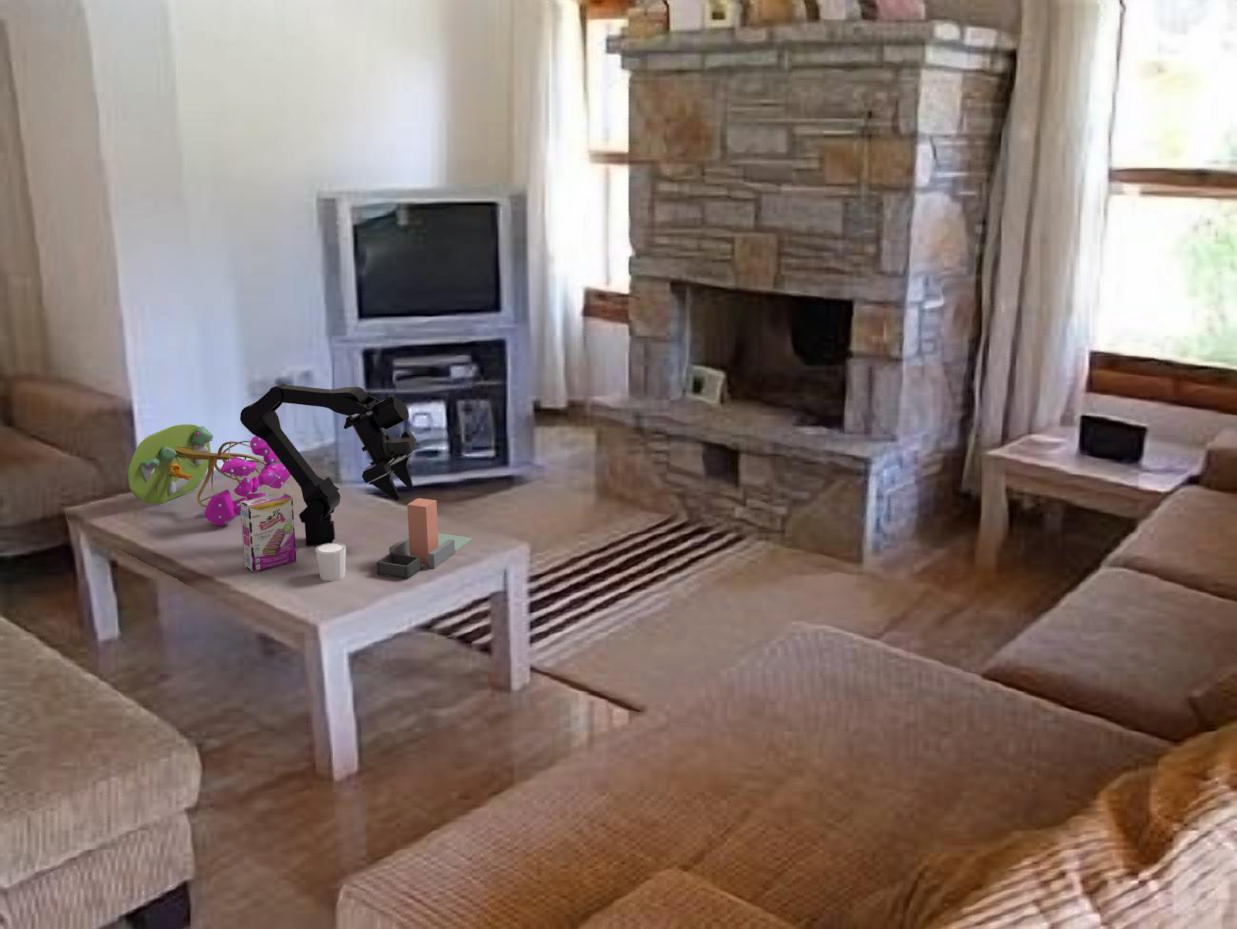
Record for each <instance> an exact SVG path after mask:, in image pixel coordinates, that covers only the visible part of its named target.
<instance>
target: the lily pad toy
mask: <svg viewBox="0 0 1237 929" xmlns="http://www.w3.org/2000/svg"><path fill="white" fill-rule="evenodd" d="M213 438H214V434H213V433H212V432H210V431H209V429H207V428H206V427H205V426H204V425H202V426H198V425H196V424H191V423H190V424H187V423H186V424H184V423H183V424H176V425H172V426H169V427H167V428H164V429H161V430H159V431H156V432H154V433H152V434H149V435H148V436H146V437H145V438H144V439H142V440H141V442H140V443H139V444H138V446H137V448H136V449H135V451H134V453H133V456H132V458H131V460H130V462H129V466H128V469H127V480H128V487H129V490H130V492H131V493H132V494H133V495H134V496H135V497H136V498H137V499H138V500H140V501H142V502H145V503H148V504H150V505H154V504H155V505H161V504H164V503H166V502H169V501H171V500H174V499H176V497H177V498H179V497H178V496H180V497H182V496H184V495H183V494H185V493H187V492H190V491H192V492H193V491H195V490H196V489H197V488H198V486H199V485H200V484H201V482H203V483H202V485H201V487H200V489H199V491H198V493H197V497H196V500H197V503H198V504H199V505H200V506H202V507H204V508H205V510H204V511H202V514H201V515H202V516H203V517H204V518H205V519H206V521H207V522H209V523H210V522H211V523H212V524H214V525H215V526H217V527H223V526H224V525H225V524H228V523H229V522H231V521H232V520H234V519H235V518H237V517H238V515H240V516H241V511H240V502H241V501H246V500H251V499H255V498H260V497H264V496H269V494H266V493H265V492H259V491H260V490H261V488H262V486H264V485H265V486H269V487H270V488H272V489H277V490H280V489H281V488H282V487H283V486H284V485H285V483H287V481H288V480H289V479H291V477H292V476H291V474H290V473H289V472H288V470H287V469H286V468H285V466H284V465H283V464H282V463H279V464H276V463H277V462H278V461H280V460H279V459H278V457H277V456H276V455H275V454H274V452H273V451H272V450H271V448H270V447H269V446H268V445H267V443H266V442H265V441H264V440H262V439H261V438H259V437H257V436H255V435H253V437H252V438H251V439H250V440H242V441H226V442H223V443H222V444H221V445H220V447H219V448H218V451H217V452H212V451H211V446H210V445H211V444H210V442H212V441H213ZM245 443H249V444H245ZM227 445H229V446H228V447H227V448H226V449H224V447H225V446H227ZM237 445H242V446H246V447H248V448H250V449H251V452H252V454H253V455H255V456H253V455H249V454H243V453H235V452H231V448H233V447H235V446H237ZM223 449H224V450H223ZM227 451H228V452H227ZM256 456H259V457H263V461H262V460H261V459H259V458H257V457H256ZM247 459H249V460H247ZM218 460H219V461H220V460H222V462H223V464H222V466H221V467H220V468H219V466H218V464H217V463H218V462H217V461H218ZM257 463H260V464H262V465H264V466H263V467H261V468H260V467H257ZM215 470H216V471H217V472H218V473H220V474H221V475H222V476H224V477H227V478H229V479H231V480H233V481H234V480H235V481H237V483H238V484H237V486H236V487H235V488H234V491H233V492H234V493H235V494H236V495H237V496H240V497H242V498H238V499H236V500H234V501H233V498H232V494H231V492H230V491H229V489H225V490H223V491H221V492H219V493H218V492H215V494H214V484H213V483H214V474H215V473H214V472H215ZM259 470H260V471H259ZM255 472H257V473H258V474H259V475H257V476H254V477H252V479H251V478H250V477H248V476H250V474H251V473H255ZM228 474H229V475H228ZM204 477H205V478H204ZM210 478H211V479H210ZM241 478H243V479H241ZM203 479H204V481H203ZM210 480H211V482H210V483H211V492H212V495H211V496H209V497H206V498H204V499H201V496H202V494H203V492H204V490H205V488H206V487H207V484H208V483H209V481H210ZM190 493H191V492H190ZM187 494H188V493H187ZM181 495H182V496H181ZM185 495H186V494H185ZM206 500H209V501H208V503H207V505H206V504H204V503H203V502H204V501H206Z"/></svg>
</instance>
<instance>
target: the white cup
mask: <svg viewBox="0 0 1237 929" xmlns="http://www.w3.org/2000/svg"><path fill="white" fill-rule="evenodd" d="M314 551H315V556H316V561H317V566H318V567H317V568H318V572H319V578H320V579H321V580H322V581H326V582H334V581H339V580H341V579H343V578H345V577H346V560H347V557H346V555H347V546H346V545H345V544H343V543H339V542H333V543H326V544H322V545H316V547H315V549H314Z"/></svg>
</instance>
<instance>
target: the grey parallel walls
mask: <svg viewBox="0 0 1237 929" xmlns="http://www.w3.org/2000/svg"><path fill="white" fill-rule="evenodd" d="M388 548H389V554H390V553H398V554H404V555H409V554H410V549H409V534H407V535H406V536H405V537H403V538H402V539H400V540H398V541H397V542H396V543H394V544H393V545H391V546H389V547H388ZM455 553H456V551H455V543H454V540H451V539H448V540H447V541H446V542H444V543H443V544H441V545H440V546H438V547H437V548H436V549H434V550H433V551H431V552H430V553H428V555H429V563H428V568H430V569H436V568H437V567H439V566H440V565H441V564H443V563H444V562H445V561H448V560H449V559H450V558H451V557H452V556H453V554H454V555H455ZM389 554H388V555H389Z"/></svg>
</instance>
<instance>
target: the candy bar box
mask: <svg viewBox="0 0 1237 929" xmlns="http://www.w3.org/2000/svg"><path fill="white" fill-rule="evenodd" d="M240 511H241V515H240V520H241V521H240V522H241V533H242V547H243V548H242V550H243V561H244V567H245V568H246V569H247V570H248V571H250V570H251V571H250V572H252V571H253V572H252V573H254V572H255V573H258V572H261V571H264V570H270V569H273V568H276V567H279V566H283V565H288V564H292V563H295V562H297V547H296V532H295V530H296V529H295V519H294V518H295V517H294V514H295V513H294V501H293V496H291V495H289V494H287V493H285V492H280V493H279V492H278V493H275V494H270V495H269V494H268V496H264V497H260V498H255V499H251V500H246V501H241V502H240ZM257 571H258V572H257Z"/></svg>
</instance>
